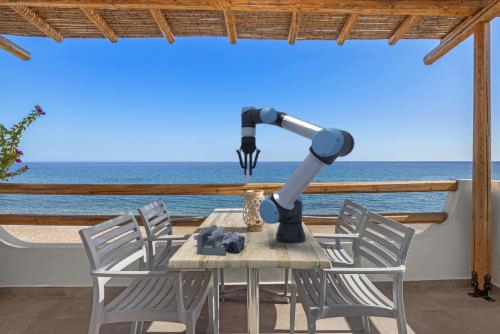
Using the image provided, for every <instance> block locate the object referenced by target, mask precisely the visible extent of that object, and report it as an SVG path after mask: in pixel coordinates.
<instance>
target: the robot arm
mask: <svg viewBox="0 0 500 334" xmlns="http://www.w3.org/2000/svg"><path fill="white" fill-rule="evenodd" d="M240 112H241V114H240V118H241V120H240V121H241V125H240V129H241V130H240V131H241V133H240V135H241V139H240V147H239V148H238V149H235V152H236V153H237V157H238V160H239V165H240V167H241V168H242V169H243V171H244V173H243V174H244V176H246V177H245V178H246V179H245V180H246V183H250V182H251V176H252V175H253V169H255V168H256V167H257V163H258V159H259V155H260V154H261V152H262V150H261V149H259V148H258V147H257V145H256V143H257V142H256V134H257V132H256V131H257V129H256V128H257V126H256V125H261V124H265V125H270V126H276V127H278V128H281V129H284V130H285V131H286V130H287V131H289V132H291V133H292V134H293V133H294V134H296V135H298V136H301V137H303V138H306V139H308V140H311V145H310V147H309V148H308V151H309V152H308V155H307V156H306V157H305V158H304V160H303V161H302V162H301V163H300V164H299V166H298V167H297V168H296V169H295V170H294V172H293V173H292V175H290V177H289V178H288V179H287V181H286V182H285V183H284V184H283V186H282V187H281V188H280V189H279V190H275V191H274V192H272V194H271V195H270V196H269V198H265V199H263V200H262V201H261V202H260V203H259V207H258V211H259V212H258V213H259V216H260V218H261V220H262V221H263V222H265V223H266V224H268V225H272V224H273V225H275V224H278V226H277V229H276V233H275V240H277V241H279V242H282V243H287V244H288V243H290V244H293V243H294V244H296V243H297V244H298V243H303V242H305V241H306V233H305V229H304V226H303V197H302V196H301V194H303V193H304V191H305V190H306V189H307V188H308V187H309V185H311V183H313V181H314V180H315V179H316V177H317V176H318V175H320V173H321V172H322V170H323V169H324V168H325V167H329V166H331V165H333V163H334V162H335V161H336V160H337V159H338V158H344V157H346V156H348V155H349V154H351V153H352V152H353V150H354V148H355V139H354V136H353V135H352V134H351V133H350V132H348V131H346V130H343V129H338V128H335V127H324V126H321V125H318V124H315V123H312V122H310V121H307V120H304V119H301V118H298V117H296V116H293V115H290V114H288V113H286V112H283V111H277V110H276V109H275V108H274V107H271V106H270V107H268V106H267V107H261V108H257V107H256V106H254V105H244V106H242V107H241V111H240ZM242 153H243V154H244V155H243V156H242ZM254 153H255V156H254V160H253V154H254ZM243 157H244V162H243ZM248 163H249V164H248ZM248 165H249V166H248Z"/></svg>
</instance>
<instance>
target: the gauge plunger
mask: <svg viewBox="0 0 500 334" xmlns="http://www.w3.org/2000/svg"><path fill="white" fill-rule="evenodd" d="M223 234H225V230H224V226H219V227H217V229H216V230H215V231H214V232H212V236H208V241H210V244H212V245H213V247H222V246H223V245H222V240H223ZM193 239H194V241H197V235H193Z"/></svg>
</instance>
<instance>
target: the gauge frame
mask: <svg viewBox="0 0 500 334" xmlns="http://www.w3.org/2000/svg"><path fill="white" fill-rule="evenodd" d="M217 226H218V225H217V224H212V225H210V226H209V227H207V228H206V229H204V230H202V232H201V231H200V233H199V234H197V235H196V236H197V240H196V255H209V256H223V257H224V256H227V250H226V248H225V246H220V247H213V245H212V244H210V241H208V236H212V232H214V231H215V230H216V229H217V228H218V227H217ZM226 234H227V233H224V234H223V237H224V236H225V235H226Z"/></svg>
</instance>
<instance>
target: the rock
mask: <svg viewBox="0 0 500 334" xmlns="http://www.w3.org/2000/svg"><path fill="white" fill-rule="evenodd" d="M225 234H226V235H225V236H224V237H223V240H222V245H221V246H222V247H224V248H226V251H231V252H233V253H240V252H241V250H242V249H243V247H244V246H245V243H246V238H245V236H244V235H240V234H237V233H234V232H229V231H228V232H227V233H225Z"/></svg>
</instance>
